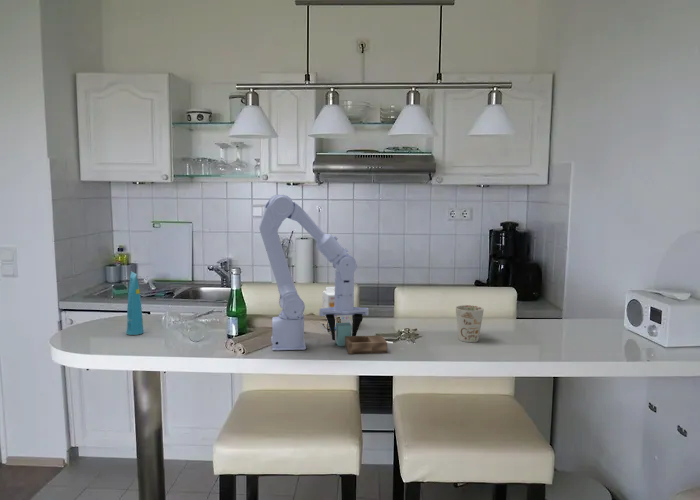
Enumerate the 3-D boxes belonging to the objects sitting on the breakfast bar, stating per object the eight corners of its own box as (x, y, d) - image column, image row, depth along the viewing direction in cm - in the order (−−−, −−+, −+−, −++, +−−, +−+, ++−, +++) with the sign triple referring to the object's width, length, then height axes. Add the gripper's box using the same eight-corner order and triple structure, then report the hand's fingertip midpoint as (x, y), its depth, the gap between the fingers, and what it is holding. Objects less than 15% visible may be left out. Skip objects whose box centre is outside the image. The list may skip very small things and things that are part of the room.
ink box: (327, 330, 172) (327, 290, 170) (321, 324, 180) (322, 285, 178) (352, 329, 174) (353, 289, 172) (346, 322, 182) (346, 284, 181)
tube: (146, 334, 163) (145, 273, 161) (130, 337, 160) (128, 275, 158) (139, 329, 169) (137, 270, 167) (123, 332, 166) (121, 271, 164)
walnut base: (348, 354, 146) (348, 343, 146) (344, 346, 154) (344, 336, 154) (387, 352, 148) (387, 342, 148) (381, 345, 155) (381, 335, 155)
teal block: (337, 346, 154) (337, 326, 154) (336, 342, 158) (336, 322, 158) (351, 345, 155) (351, 325, 154) (349, 341, 159) (349, 322, 158)
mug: (451, 341, 161) (452, 309, 160) (462, 331, 172) (463, 301, 171) (478, 344, 157) (479, 312, 156) (488, 335, 168) (489, 304, 167)
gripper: (320, 297, 150) (320, 343, 151) (370, 296, 152) (370, 342, 154) (318, 292, 157) (318, 336, 158) (366, 291, 159) (365, 335, 160)
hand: (343, 339), depth 156 cm, fingers open, 5 cm apart
